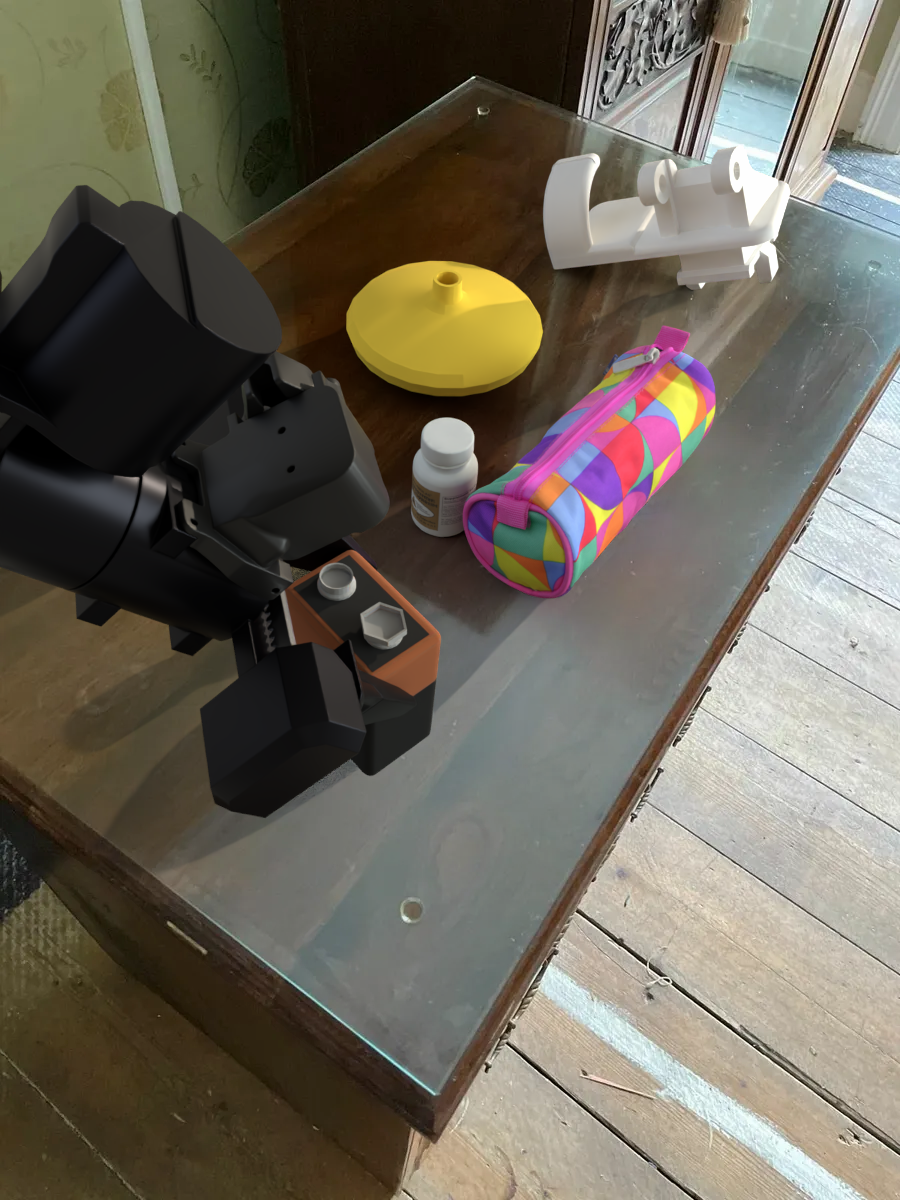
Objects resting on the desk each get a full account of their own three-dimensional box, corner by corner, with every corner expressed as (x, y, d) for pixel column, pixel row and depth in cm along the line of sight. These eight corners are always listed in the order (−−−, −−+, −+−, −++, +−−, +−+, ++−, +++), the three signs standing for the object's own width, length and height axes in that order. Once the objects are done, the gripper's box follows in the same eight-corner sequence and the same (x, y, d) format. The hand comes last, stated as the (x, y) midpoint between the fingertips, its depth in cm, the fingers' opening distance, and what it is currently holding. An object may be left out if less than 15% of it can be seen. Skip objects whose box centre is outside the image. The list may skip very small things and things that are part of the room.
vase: (420, 272, 85) (423, 198, 79) (572, 342, 80) (587, 269, 75) (307, 362, 77) (301, 287, 71) (469, 447, 72) (477, 373, 66)
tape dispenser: (564, 328, 89) (522, 191, 82) (612, 269, 95) (577, 137, 88) (778, 312, 77) (752, 150, 70) (817, 246, 84) (798, 90, 76)
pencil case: (601, 398, 76) (625, 302, 69) (707, 449, 73) (743, 355, 66) (447, 566, 65) (455, 472, 58) (565, 634, 62) (590, 544, 55)
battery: (368, 783, 48) (369, 675, 40) (288, 692, 50) (275, 574, 43) (434, 735, 50) (448, 622, 42) (354, 650, 52) (352, 530, 44)
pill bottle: (401, 502, 68) (403, 421, 62) (456, 486, 69) (463, 405, 63) (426, 546, 66) (430, 466, 60) (482, 528, 67) (493, 448, 61)
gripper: (286, 593, 25) (593, 721, 36) (204, 209, 36) (461, 399, 47) (52, 787, 30) (388, 848, 41) (41, 396, 41) (310, 529, 52)
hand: (389, 637), depth 45 cm, fingers closed on battery, 7 cm apart
